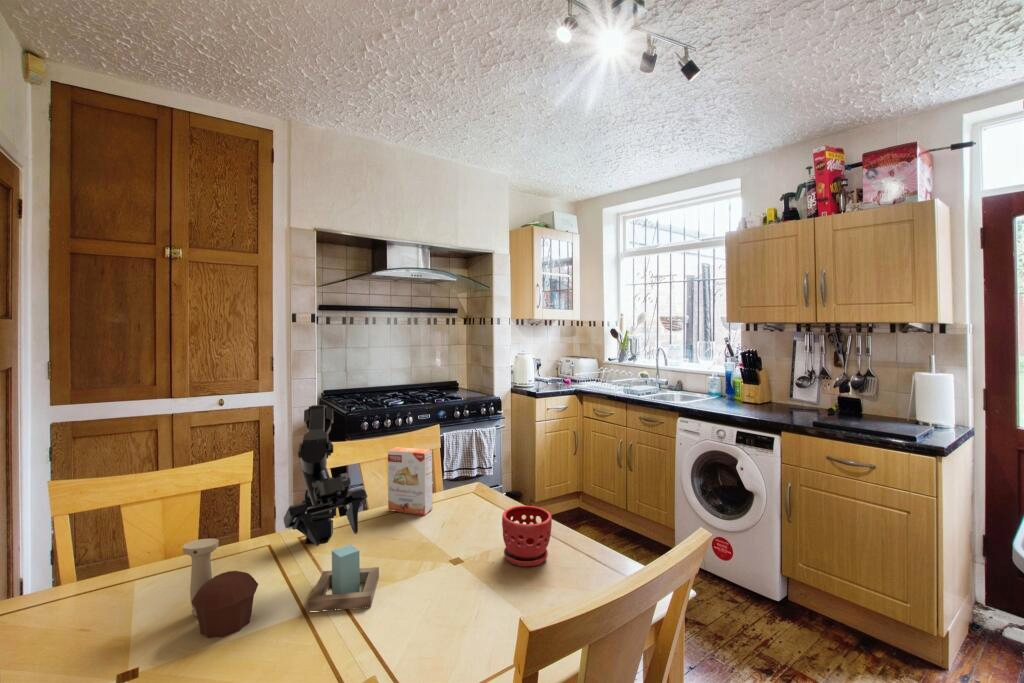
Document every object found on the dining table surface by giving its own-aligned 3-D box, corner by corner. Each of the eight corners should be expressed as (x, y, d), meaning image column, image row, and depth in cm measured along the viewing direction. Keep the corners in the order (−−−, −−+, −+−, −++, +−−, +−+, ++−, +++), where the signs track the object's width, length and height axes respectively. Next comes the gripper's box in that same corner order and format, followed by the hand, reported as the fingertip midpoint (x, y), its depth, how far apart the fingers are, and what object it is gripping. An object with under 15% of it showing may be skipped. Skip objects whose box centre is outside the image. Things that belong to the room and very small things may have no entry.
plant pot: (496, 568, 118) (496, 521, 118) (509, 545, 131) (508, 503, 131) (547, 574, 115) (547, 525, 115) (555, 550, 128) (555, 506, 128)
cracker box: (387, 512, 157) (386, 450, 157) (396, 505, 163) (396, 446, 162) (424, 516, 153) (424, 452, 153) (433, 509, 159) (432, 448, 158)
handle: (212, 618, 98) (211, 547, 97) (179, 621, 97) (178, 549, 97) (223, 605, 102) (222, 537, 102) (191, 608, 101) (190, 539, 101)
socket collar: (307, 613, 99) (307, 601, 99) (323, 581, 112) (323, 571, 112) (370, 607, 101) (370, 596, 101) (379, 577, 114) (378, 567, 114)
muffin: (240, 602, 103) (239, 557, 103) (270, 617, 98) (269, 570, 98) (180, 631, 93) (179, 582, 93) (209, 650, 88) (209, 597, 88)
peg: (332, 594, 107) (331, 550, 107) (350, 586, 110) (350, 544, 110) (340, 601, 104) (340, 557, 103) (359, 594, 107) (359, 550, 107)
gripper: (287, 472, 107) (306, 534, 99) (363, 456, 120) (385, 510, 112) (276, 497, 112) (293, 558, 105) (349, 480, 125) (370, 533, 118)
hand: (337, 539), depth 110 cm, fingers open, 9 cm apart
